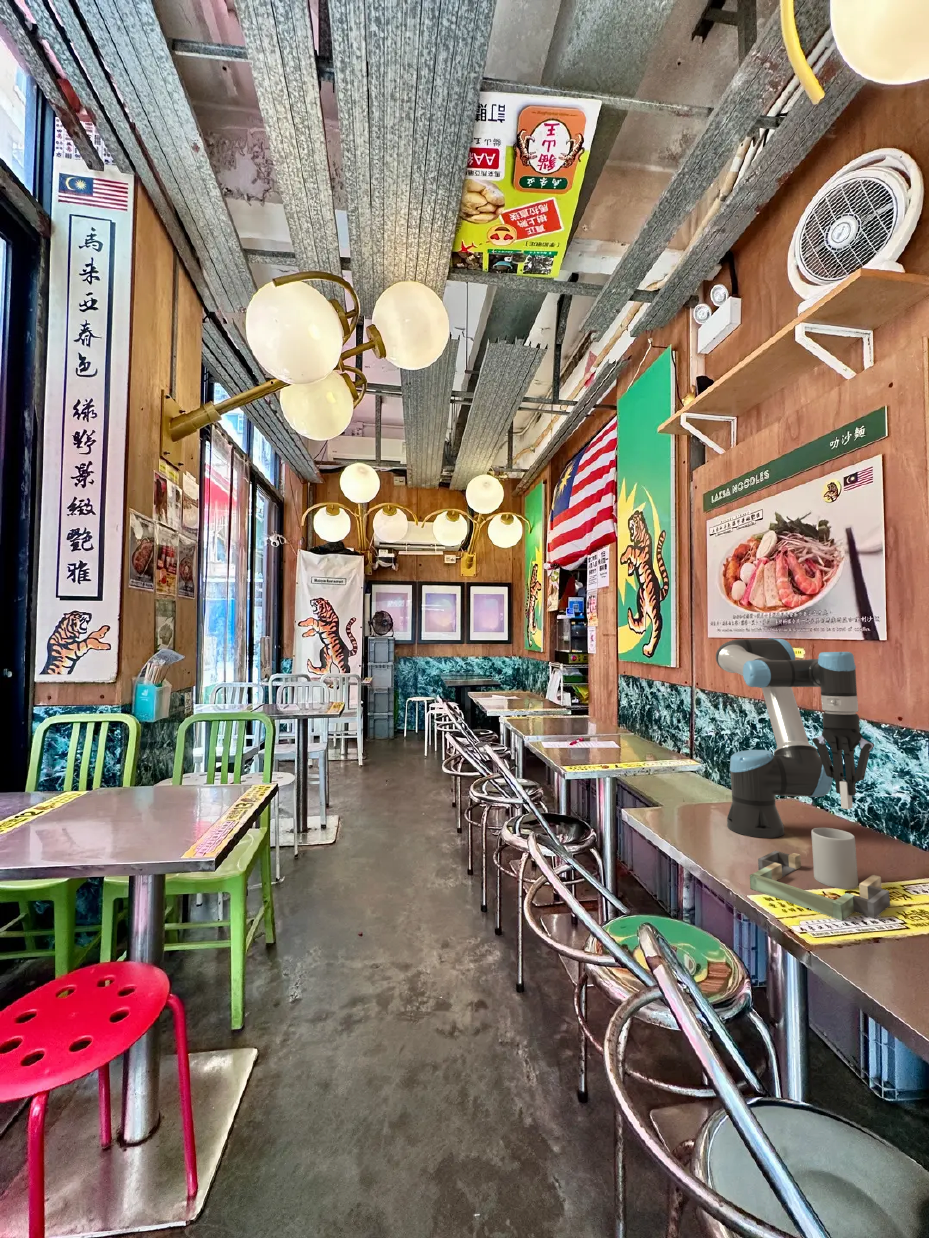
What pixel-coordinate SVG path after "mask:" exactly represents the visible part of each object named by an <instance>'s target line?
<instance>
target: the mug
mask: <svg viewBox="0 0 929 1238" xmlns="http://www.w3.org/2000/svg"><path fill="white" fill-rule="evenodd" d="M811 844H812V845H811V848H812V861H813V862H812V863H813V878H814V879H815V881H817V882H819V883H820V884H822V885H824V886H827V887H831V888H836V889H842V890H853V889H856V888H859V875H858V863H857V861H858V860H857V850H856V838H855V835H854V834H852V833H851V832H848V831H846V830H843V829H837V828H832V827H814V828H813V829H811Z"/></svg>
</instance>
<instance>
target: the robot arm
mask: <svg viewBox="0 0 929 1238" xmlns="http://www.w3.org/2000/svg"><path fill="white" fill-rule="evenodd" d="M715 661H716V664H717V665H718V667H719V668H720V669H721V670H722V671H725V672H727V673H729V674H730V673H731V674H732V673H733V674H734V673H735V674H738V675H740V676H741V677H742V676H743V681H744V682H745V685H746V686H748V687H749V688H761V691H762V694H763V697H764V702H765V705H766V709H767V714H768V717H769V720H770V725H771V728H772V731H773V735H774V739H775V744H776V746H777V747H776V749H775V750H774V752H772V751H771V750H767V749H748V750H741V751H736V752H734V753H733V754H732V755H731V756H730V764H729V771H730V785H731V786H730V787H731V803H730V808H729V811H728V814H727V817H726V827H727V828H728V829H729V830H730V831H732V832H734V833H737V834H740V835H743V836H747V837H754V838H762V839H765V838H767V839H768V838H769V839H770V838H771V839H772V838H779V837H783V836H784V835H785V829H784V828H785V826H784V824H783V821H782V818H781V816H780V815H781V814H780V813H779V811H778V808H777V804H776V796H782V797H783V796H784V797H787V796H788V797H806V798H807V797H808V798H813V797H824V796H826V795H828V794H829V792H830V791H831V788H832V785H833V779H834V783H835V792H836V793H837V794H839V796H840V805H841V806H840V807H841V809H844V810H850V809H853V807H854V806H853V796H855V795H856V794H857V787H856V782H861V781H863V780H865V775H866V772H867V768H868V762H869V757H870V753H871V751H872V750H873V748H875V743H874V742H871V741H868V740H867V739H864V737H863V735H862V733H861V727H860V726H861V725H860V715H858V714H857V712H859V703H858V692H857V691H858V690H857V689H858V688H857V687H858V686H857V674H856V669H857V666H856V663H855V655H854V654H853V653H852V652H851V651H821V652H819V654H818V658H813V659H812V658H811V659H810V658H808V659H796V653H795V650H794V648H793V646H792V645H791V643H790V642H789V641H787V640H786V639H784V638H774V637H769V638H744V639H743V638H739V639H738V638H737V639H732V640H729V641H727V642H725V643H722V644H721V645H720V646H719V647H718V648H717V650H716V653H715ZM793 688H820V698H821V699H820V701H821V710H822V711H824V712H823V713H822V724H823V725H822V726H823V729H822V730H823V731H822V732H821V735H819V736H818V737H814V738H812V743H813V744H814V745H812V744H810V742H809V738H808V736H807V733H806V729H805V726H804V722H803V719H802V716H801V713H800V709H799V706H798V704H797V703H798V702H797V700H796V697H795V693H794V691H793V690H794V689H793ZM826 743H827V744H828V745H829V746H830V748H831V750H830V751H831V753H832V758H831V756H830V753H829V750H828V747H827V745H826ZM857 746H859V747H860V749H861V750H860V752H859V757H858V759H857V760H858V761H857V766H856V764H855V749H856V748H857ZM843 756H844V761H843ZM843 763H844V765H843ZM844 767H845V776H844Z"/></svg>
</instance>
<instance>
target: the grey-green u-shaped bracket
mask: <svg viewBox="0 0 929 1238" xmlns="http://www.w3.org/2000/svg"><path fill="white" fill-rule="evenodd" d="M757 865H758V867H757V868H758V870H757V871H756V872H755V871H754V872H753V873H751V874H749V884H750V885H749V886H750V890H753V891H756V892H758V893H762V894H764V895H768V896H770V897H774V898H777V899H779V900H781V901H784V902H787V901H788V903H790V904H793V905H797V906H800V907H802V908H804V909H807V908H809V909H808V910H810V909H811V910H810V911H813V910H814V911H813V912H816V911H817V912H816V913H819V912H820V913H819V914H821V915H824V914H827V915H828V917H830V916H831V918H834V919H836V920H838V921H843V920H845V919H846V918H847V917H849V916H851V915H852V914H853V913H856V914H860V915H862V916H865V917H868V918H870V919H871V918H872V919H876V918H877V917H878V916H879V915H881V914H882V913H883V912H884V911H886V910H887V909H888V908H889V907H890V906H891V902H890V901H891V897H890V891H889V890H887V889H883V888H882V887H883V886H882V877H881V876H880V875H875V874H872V875H870V876H869V877H867V878H866V879H865V880H863V881H861V882H860V883H858V888H859V896H858V895H855V894H851V893H849V892H848V893H847V892H846V893H844V894H843V895H841V896H840V897H838V898H836V899H833V898H829V897H827V896H823V895H820V894H817V893H815V892H811V891H808V890H805V889H802V888H800V887H796V886H793V885H789V884H786V883H784V882H780V881H778V880H780V879H782V878H784V877H785V876H787V875H789V874H791V873H793V872H795V871H797V870H798V869H800V868H802V861H801V854H799V853H795V852H793V853H790V854H789V853H785V852H781V851H779V850H774V851H772V852H769V853H767V854H765V855H763V856H761V857H759V858H757ZM827 915H826V916H827Z"/></svg>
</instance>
